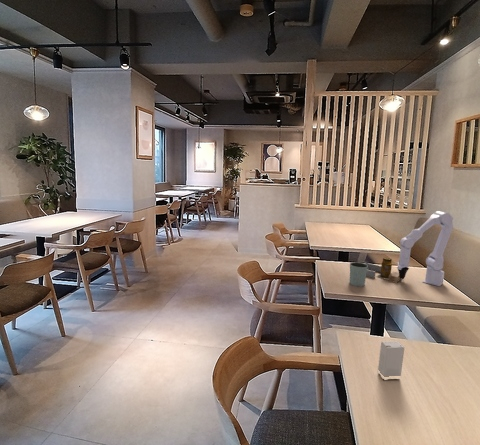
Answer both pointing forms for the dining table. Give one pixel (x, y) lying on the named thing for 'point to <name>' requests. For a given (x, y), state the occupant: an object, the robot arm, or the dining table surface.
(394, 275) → the tan rectangular block
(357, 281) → the green tapered cup
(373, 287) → the dining table surface
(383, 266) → the condiment
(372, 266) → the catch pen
